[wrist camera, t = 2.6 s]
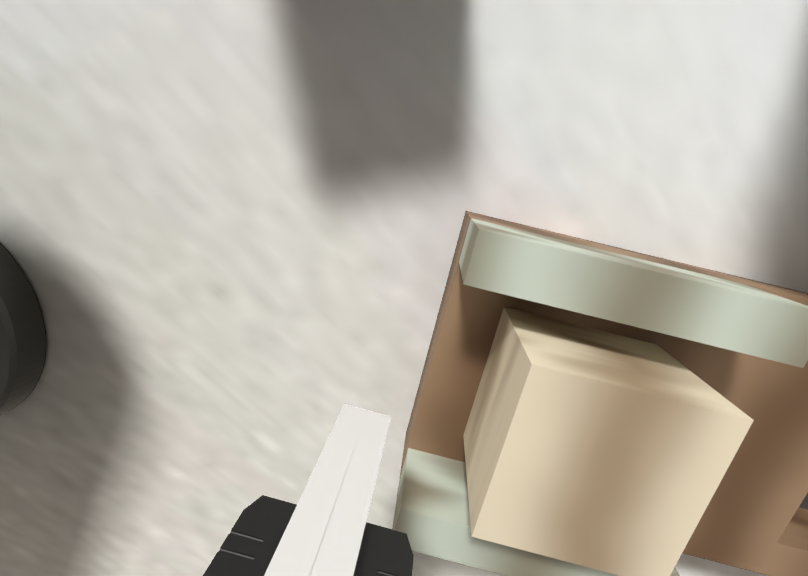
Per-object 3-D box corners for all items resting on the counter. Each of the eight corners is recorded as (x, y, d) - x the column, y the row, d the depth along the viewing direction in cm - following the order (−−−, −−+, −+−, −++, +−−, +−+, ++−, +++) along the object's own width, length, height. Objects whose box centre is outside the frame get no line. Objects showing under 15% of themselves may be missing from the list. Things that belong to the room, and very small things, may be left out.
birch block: (463, 435, 20) (471, 536, 15) (503, 306, 19) (531, 364, 13) (600, 470, 20) (663, 586, 14) (655, 344, 18) (753, 420, 13)
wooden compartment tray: (406, 433, 25) (390, 544, 18) (465, 211, 21) (479, 228, 14) (873, 553, 24) (1071, 725, 17) (1021, 345, 21) (1364, 443, 13)
